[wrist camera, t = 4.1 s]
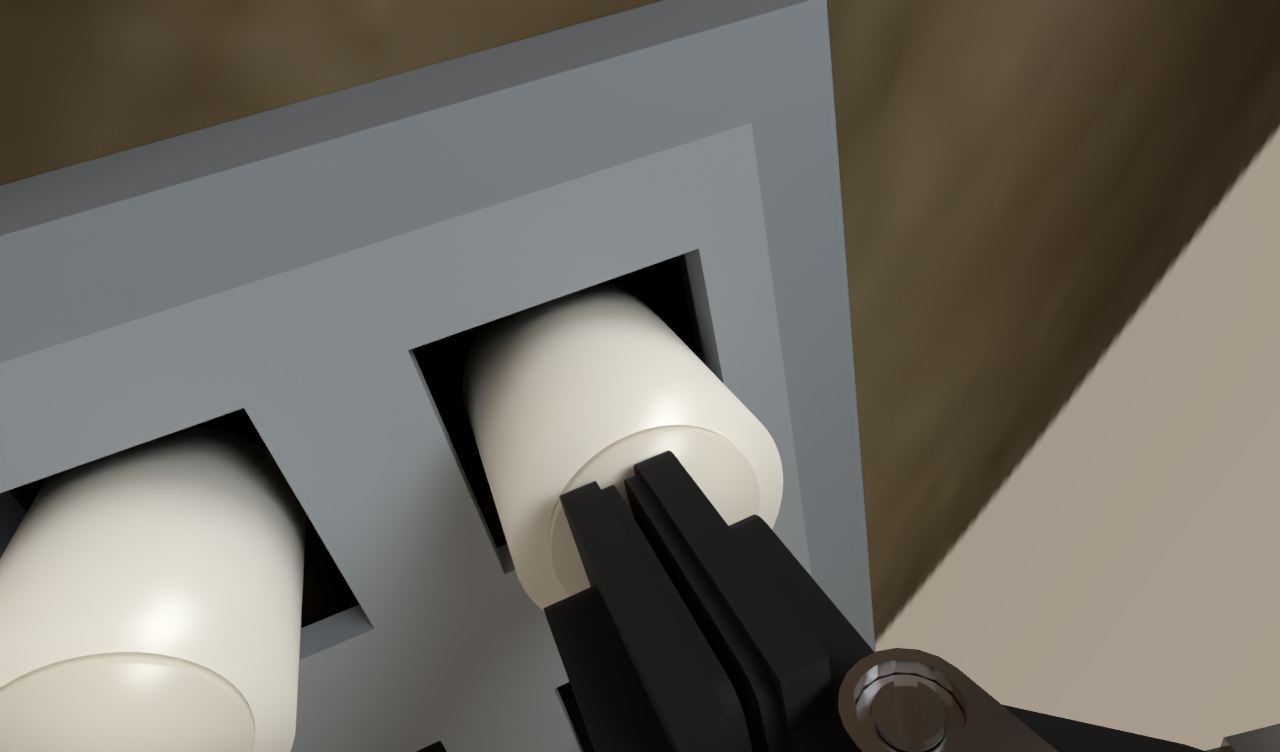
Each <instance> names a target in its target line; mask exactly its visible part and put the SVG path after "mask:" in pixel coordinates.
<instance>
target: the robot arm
mask: <svg viewBox="0 0 1280 752" xmlns="http://www.w3.org/2000/svg"><path fill="white" fill-rule="evenodd" d="M634 472H635V476H632V477H630V478H628V479H625V480H624V485H625V489H626V492H627V496H628V499H629V503H630V506H631V509H632V513H633V516H634V517H633V516H632V514H631V512H630V511H629V509H628V507H627V505H626V504H625V502H624V500H623V499H622V497H621V495H620V494H619V492H618V490H617V489H616V487H615V486H614V485H611V486H608V487H606V488H604V489H601V488H600V487H599V485H598V483H597V482H596V481H593V482H591V483H589V484H586V485H584V486H581V487H579V488H577V489H574V490H572V491H569V492H567V493H564V494H562V495H560V496H559V497H560V501H561V504H562V507H563V509H564V512H565V515H566V518H567V521H568V524H569V527H570V529H571V532H572V535H573V538H574V541H575V544H576V546H577V549H578V552H579V555H580V558H581V561H582V563H583V566H584V569H585V572H586V575H587V578H588V580H589V583H590V586H591V587H590V588H588V589H585V590H583V591H581V592H579V593H576V594H574V595H572V596H570V597H567V598H565V599H563V600H561V601H558V602H556V603H554V604H552V605H549V606H547V607H545V608H543V609H544V612H545V615H546V618H547V621H548V624H549V627H550V629H551V632H552V635H553V638H554V640H555V643H556V646H557V649H558V652H559V654H560V657H561V660H562V663H563V665H564V668H565V671H566V674H567V677H568V679H569V682H570V685H571V688H572V690H573V693H574V696H575V699H576V702H577V704H578V707H579V710H580V713H581V715H582V718H583V721H584V724H585V727H586V729H587V732H588V735H589V738H590V740H591V743H592V746H593V749H594V752H1280V724H1277V725H1273V726H1269V727H1265V728H1261V729H1257V730H1252V731H1248V732H1244V733H1240V734H1236V735H1233V736H1229V737H1224V738H1223V741H1222V745H1221V747H1219V748H1215V749H1211V750H1207V751H1202V750H1200V749H1197V748H1194V747H1190V746H1187V745H1184V744H1179V743H1175V742H1170V741H1166V740H1161V739H1157V738H1152V737H1147V736H1143V735H1138V734H1134V733H1129V732H1124V731H1120V730H1115V729H1111V728H1106V727H1102V726H1097V725H1092V724H1088V723H1083V722H1079V721H1074V720H1070V719H1065V718H1060V717H1056V716H1051V715H1047V714H1042V713H1037V712H1033V711H1028V710H1023V709H1019V708H1014V707H1010V706H1005V705H1001V704H1000V703H999V702H998V701H996V700H995V699H994V698H993V697H992V696H990V695H989V694H988V693H987V692H986V691H984V690H983V689H982V688H981V687H979V686H978V685H977V684H976V683H975V682H973V681H972V680H971V679H970V678H969V677H967V676H966V675H965V674H964V673H963V672H961V671H960V670H959V669H958V668H956V667H954V666H953V665H951V664H950V663H948V662H947V661H945V660H943V659H942V658H940V657H938V656H935V655H932V654H929V653H926V652H923V651H920V650H915V649H902V648H894V649H889V650H883V651H877V652H874V651H873V650H872V649H871V647H870V646H869V645H868V644H867V643H866V641H865V640H864V639H863V638H862V637H861V635H860V634H859V633H858V632H857V631H856V629H855V628H854V627H853V626H852V625H851V624H850V622H849V621H848V620H847V619H846V618H845V616H844V615H843V614H842V613H841V612H840V610H839V609H838V608H837V607H836V606H835V604H834V603H833V602H832V601H831V600H830V598H829V597H828V596H827V595H826V594H825V592H824V591H823V590H822V589H821V588H820V586H819V585H818V584H817V583H816V582H815V580H814V579H813V578H812V577H811V576H810V575H809V573H808V572H807V571H806V570H805V569H804V567H803V566H802V565H801V564H800V563H799V561H798V560H797V559H796V558H795V557H794V555H793V554H792V553H791V552H790V551H789V549H788V548H787V547H786V546H785V545H784V543H783V542H782V541H781V540H780V539H779V537H778V536H777V535H776V534H775V533H774V531H773V530H772V529H771V528H770V527H769V526H768V524H767V523H766V522H765V521H764V520H763V519H762V518H761V517H760V516H757V515H755V514H754V515H752V516H750V517H747V518H745V519H743V520H741V521H738V522H736V523H734V524H732V525H729V526H728V524H727V523H726V522H725V520H724V519H723V518H722V517H721V515H720V514H719V513H718V511H717V510H716V509H715V507H714V506H713V505H712V503H711V502H710V501H709V499H708V498H707V497H706V496H705V494H704V493H703V492H702V490H701V489H700V488H699V486H698V485H697V484H696V482H695V481H694V480H693V478H692V477H691V476H690V475H689V473H688V472H687V471H686V469H685V468H684V467H683V465H682V464H681V463H680V461H679V460H678V459H677V457H676V456H675V455H674V454H673V453H672V452H671V451H669V450H668V451H666V452H663V453H661V454H659V455H656V456H654V457H651V458H649V459H647V460H644V461H642V462H639V463H637V464H634Z"/></svg>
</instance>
